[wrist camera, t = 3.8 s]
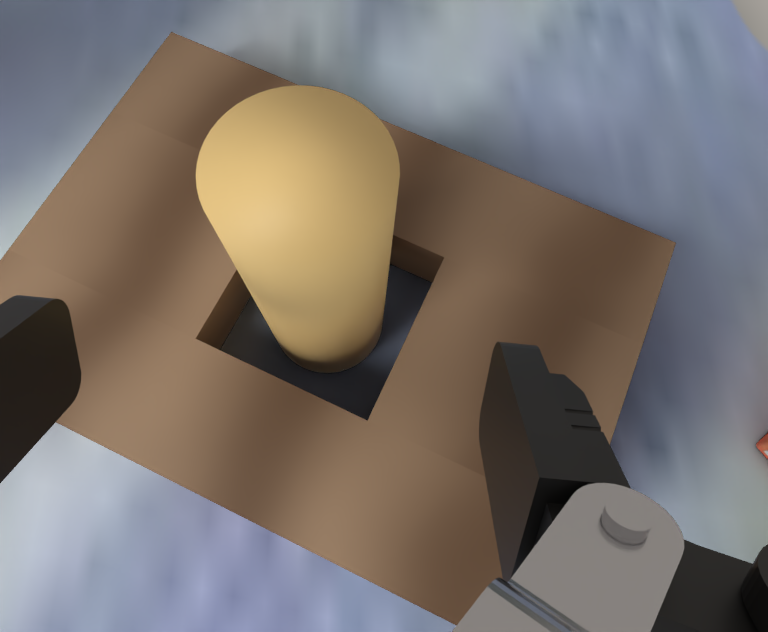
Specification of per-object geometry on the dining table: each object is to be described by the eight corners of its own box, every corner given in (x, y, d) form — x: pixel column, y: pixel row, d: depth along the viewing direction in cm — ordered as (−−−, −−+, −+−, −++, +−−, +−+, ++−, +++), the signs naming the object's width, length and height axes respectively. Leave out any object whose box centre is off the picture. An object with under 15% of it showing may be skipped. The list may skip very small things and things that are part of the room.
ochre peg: (254, 344, 20) (156, 210, 11) (305, 252, 21) (258, 58, 12) (353, 391, 20) (345, 296, 10) (400, 295, 21) (431, 130, 11)
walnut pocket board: (-19, 373, 19) (-73, 357, 17) (190, 78, 23) (171, 32, 21) (513, 642, 17) (536, 666, 15) (641, 270, 22) (675, 242, 19)
